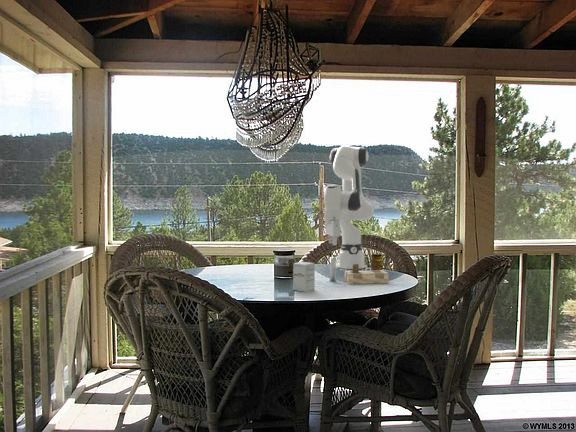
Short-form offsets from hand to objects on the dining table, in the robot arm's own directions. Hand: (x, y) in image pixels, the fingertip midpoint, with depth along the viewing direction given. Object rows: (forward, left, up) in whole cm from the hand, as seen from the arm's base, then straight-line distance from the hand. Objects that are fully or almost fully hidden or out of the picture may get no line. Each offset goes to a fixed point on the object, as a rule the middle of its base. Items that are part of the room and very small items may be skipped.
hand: (332, 244), depth 275 cm
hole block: (+5, +16, -19) cm, 25 cm away
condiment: (-11, +25, -19) cm, 33 cm away
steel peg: (0, 0, -19) cm, 19 cm away
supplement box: (+23, -18, -19) cm, 35 cm away
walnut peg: (+5, +11, -19) cm, 22 cm away
